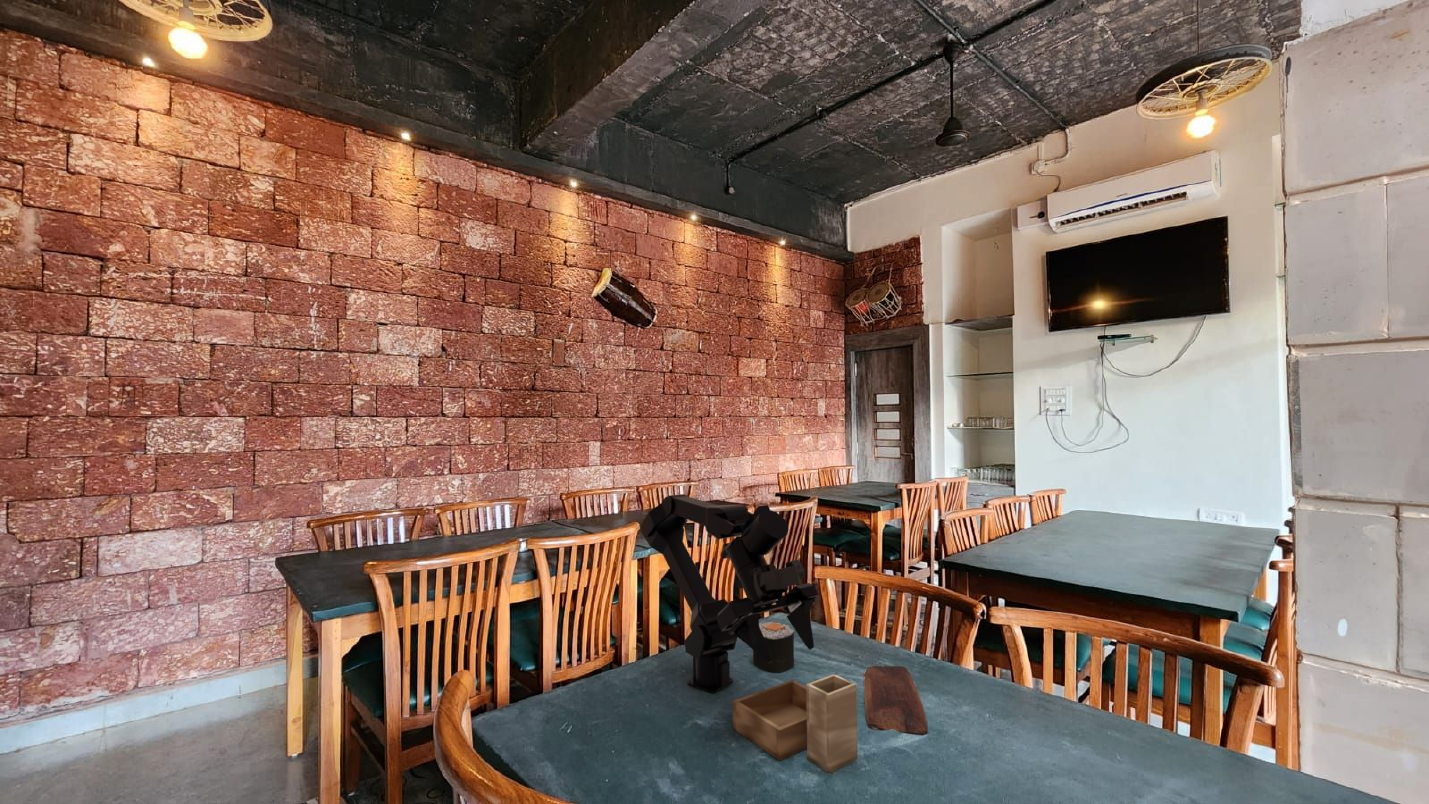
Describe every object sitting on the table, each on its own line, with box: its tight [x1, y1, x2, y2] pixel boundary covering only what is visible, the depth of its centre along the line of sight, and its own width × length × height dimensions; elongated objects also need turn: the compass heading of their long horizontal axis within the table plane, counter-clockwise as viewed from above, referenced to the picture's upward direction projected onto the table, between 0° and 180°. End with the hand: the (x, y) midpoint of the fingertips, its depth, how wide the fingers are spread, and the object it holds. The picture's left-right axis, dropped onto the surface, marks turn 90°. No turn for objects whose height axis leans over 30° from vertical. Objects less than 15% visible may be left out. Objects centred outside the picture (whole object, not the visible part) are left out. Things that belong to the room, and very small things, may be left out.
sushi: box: [752, 621, 795, 674], centre depth 123 cm, size 8×8×8 cm
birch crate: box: [805, 674, 858, 774], centre depth 88 cm, size 4×6×11 cm
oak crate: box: [732, 679, 807, 762], centre depth 96 cm, size 11×13×4 cm
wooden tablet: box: [863, 665, 928, 736], centre depth 108 cm, size 26×2×10 cm
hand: (791, 655), depth 96 cm, fingers open, 9 cm apart
